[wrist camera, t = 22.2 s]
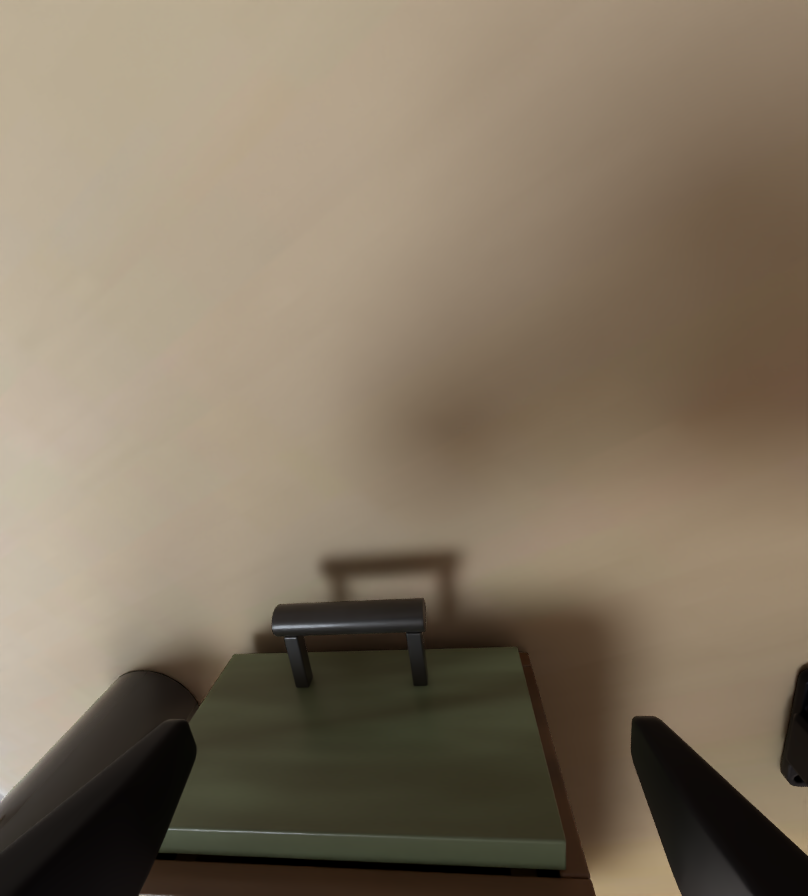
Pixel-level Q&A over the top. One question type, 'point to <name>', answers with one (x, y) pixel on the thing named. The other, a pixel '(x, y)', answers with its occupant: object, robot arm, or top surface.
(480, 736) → the drawer
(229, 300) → the top surface
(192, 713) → the cup
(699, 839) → the robot arm
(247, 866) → the cabinet
